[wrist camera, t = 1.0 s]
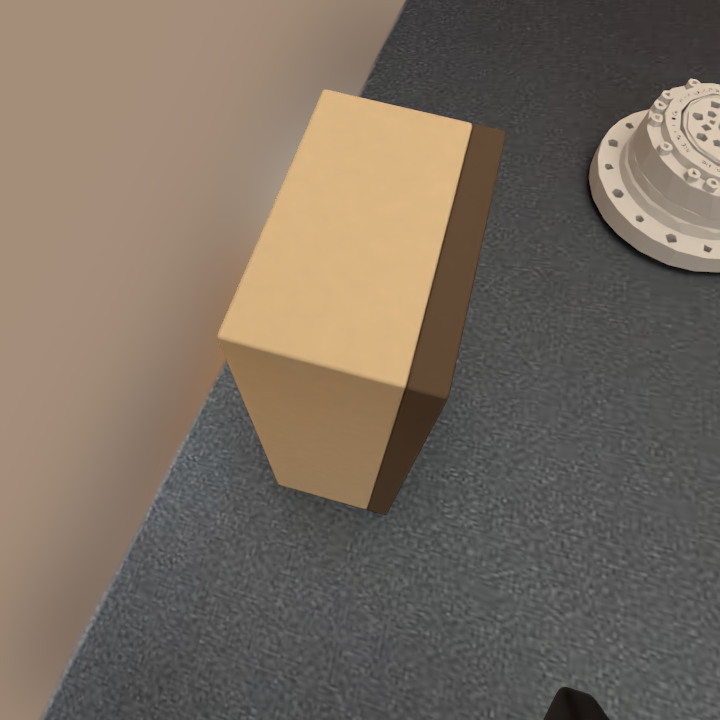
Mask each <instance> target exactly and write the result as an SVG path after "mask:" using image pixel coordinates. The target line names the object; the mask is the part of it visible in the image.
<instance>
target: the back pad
mask: <svg viewBox="0 0 720 720" xmlns="http://www.w3.org/2000/svg"><path fill="white" fill-rule="evenodd" d="M505 136H506V133H505V131H503V130H499V129H495V128H490V127H486V126H482V125H477V124H476V125H474V126H473V127H472V124H471V123H468V122H464V121H460V120H455V119H451V118H447V117H442V116H438V115H434V114H429V113H425V112H421V111H416V110H412V109H408V108H403V107H399V106H395V105H391V104H386V103H382V102H378V101H373V100H369V99H365V98H360V97H356V96H352V95H347V94H343V93H338V92H334V91H330V90H323V91H322V94H321V96H320V98H319V101H318V103H317V105H316V108H315V110H314V112H313V115H312V117H311V119H310V121H309V124H308V126H307V128H306V131H305V133H304V135H303V138H302V140H301V142H300V145H299V147H298V149H297V151H296V154H295V156H294V158H293V161H292V163H291V165H290V168H289V170H288V172H287V175H286V177H285V179H284V182H283V184H282V186H281V189H280V191H279V193H278V195H277V198H276V200H275V202H274V205H273V207H272V210H271V212H270V214H269V216H268V219H267V221H266V223H265V226H264V228H263V230H262V233H261V235H260V237H259V239H258V242H257V244H256V246H255V249H254V251H253V254H252V256H251V258H250V260H249V263H248V265H247V267H246V270H245V272H244V275H243V277H242V279H241V281H240V283H239V286H238V288H237V290H236V293H235V295H234V297H233V300H232V302H231V305H230V307H229V309H228V312H227V314H226V316H225V318H224V321H223V323H222V325H221V327H220V330H219V332H218V335H217V338H218V341H219V343H220V346H221V348H222V350H223V353H224V355H225V358H226V360H227V362H228V365H229V367H230V370H231V372H232V374H233V377H234V379H235V382H236V384H237V386H238V389H239V391H240V394H241V396H242V398H243V401H244V403H245V406H246V408H247V410H248V413H249V415H250V417H251V420H252V422H253V425H254V427H255V429H256V432H257V434H258V437H259V439H260V441H261V444H262V446H263V449H264V451H265V453H266V456H267V458H268V461H269V463H270V465H271V468H272V470H273V473H274V475H275V477H276V480H277V482H278V484H279V485H282V486H285V487H289V488H292V489H296V490H299V491H303V492H306V493H310V494H313V495H317V496H320V497H324V498H327V499H331V500H334V501H338V502H342V503H345V504H349V505H352V506H356V507H359V508H363V509H367V508H368V510H370V511H373V512H377V513H380V514H384V515H386V514H387V512H388V510H389V509H390V507H391V505H392V503H393V501H394V499H395V497H396V495H397V493H398V492H399V490H400V488H401V486H402V484H403V482H404V480H405V478H406V477H407V475H408V473H409V471H410V469H411V467H412V465H413V463H414V461H415V460H416V458H417V456H418V454H419V452H420V450H421V448H422V446H423V444H424V443H425V441H426V439H427V437H428V435H429V433H430V431H431V429H432V428H433V426H434V424H435V422H436V420H437V418H438V416H439V414H440V412H441V411H442V409H443V407H444V405H445V403H446V401H447V399H448V397H449V393H450V389H451V384H452V380H453V375H454V371H455V366H456V361H457V357H458V352H459V348H460V343H461V338H462V334H463V329H464V325H465V320H466V315H467V311H468V306H469V302H470V297H471V293H472V288H473V283H474V279H475V274H476V270H477V265H478V260H479V256H480V251H481V247H482V242H483V237H484V233H485V228H486V224H487V219H488V214H489V210H490V205H491V201H492V196H493V192H494V187H495V182H496V178H497V173H498V169H499V164H500V159H501V155H502V150H503V146H504V141H505Z"/></svg>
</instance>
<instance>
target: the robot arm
mask: <svg viewBox="0 0 720 720" xmlns="http://www.w3.org/2000/svg"><path fill="white" fill-rule="evenodd" d="M544 720H609V718H608V717H607V715H606V714H605V713H604V711H603V710H602V708H601V707H600V705H599V704H598V703H597V701H596V700H595V699H594V698H593V697H592V696H591V695H589V694H587V693H584V692H581V691H578V690H574V689H571V688H568V687H562V688H560V689H559V690H558V692H557V693H556V695H555V697H554V699H553V701H552V703H551V705H550V707H549V709H548V711H547V713H546V715H545V717H544Z"/></svg>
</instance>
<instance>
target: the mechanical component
mask: <svg viewBox="0 0 720 720" xmlns="http://www.w3.org/2000/svg"><path fill="white" fill-rule="evenodd" d="M589 183H590V188H591V192H592V197H593V200H594V202H595V203H596V205H597V207H598V209H599V211H600V213H601V214H602V216H603V218H604V219H605V221H606V222H607V223H608V224H609V225H610V227H611V228H612V229H613V230H614V231H615V232H616V233H617V234H618V235H619V236H620V237H622V238H623V239H624V240H625V241H627V242H628V243H629V244H631V245H632V246H633V247H634V248H636V249H637V250H638V251H640V252H642V253H644V254H646V255H648V256H650V257H652V258H654V259H657V260H659V261H661V262H663V263H665V264H667V265H671V266H675V267H679V268H683V269H687V270H691V271H700V272H720V85H718V84H713V83H704V84H700V82H699V81H698V80H696V79H690V80H689V81H688V83H687V84H686V86H682V87H677V88H672V89H671V90H670V91H663V92H662V94H661V96H660V97H659V98H658V99H656V101H655V102H654V104H653V105H652V107H651V108H650V109H649V110H645V111H641V112H637V113H634V114H632V115H630V116H628V117H626V118H624V119H622V120H620V121H619V122H618V123H616V124H615V125H614V126H613V127H612V128H611V129H610V130H609V131H608V133H607V134H606V136H605V137H604V139H603V140H602V142H601V143H600V145H599V147H598V149H597V150H596V152H595V155H594V157H593V160H592V162H591V165H590V173H589Z"/></svg>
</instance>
